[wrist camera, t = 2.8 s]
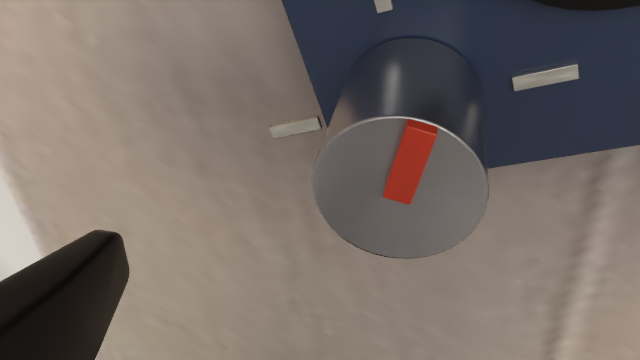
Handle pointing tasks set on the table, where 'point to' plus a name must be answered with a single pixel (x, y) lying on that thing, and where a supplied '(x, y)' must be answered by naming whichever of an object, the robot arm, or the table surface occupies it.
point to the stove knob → (405, 152)
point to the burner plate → (590, 4)
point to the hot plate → (494, 66)
